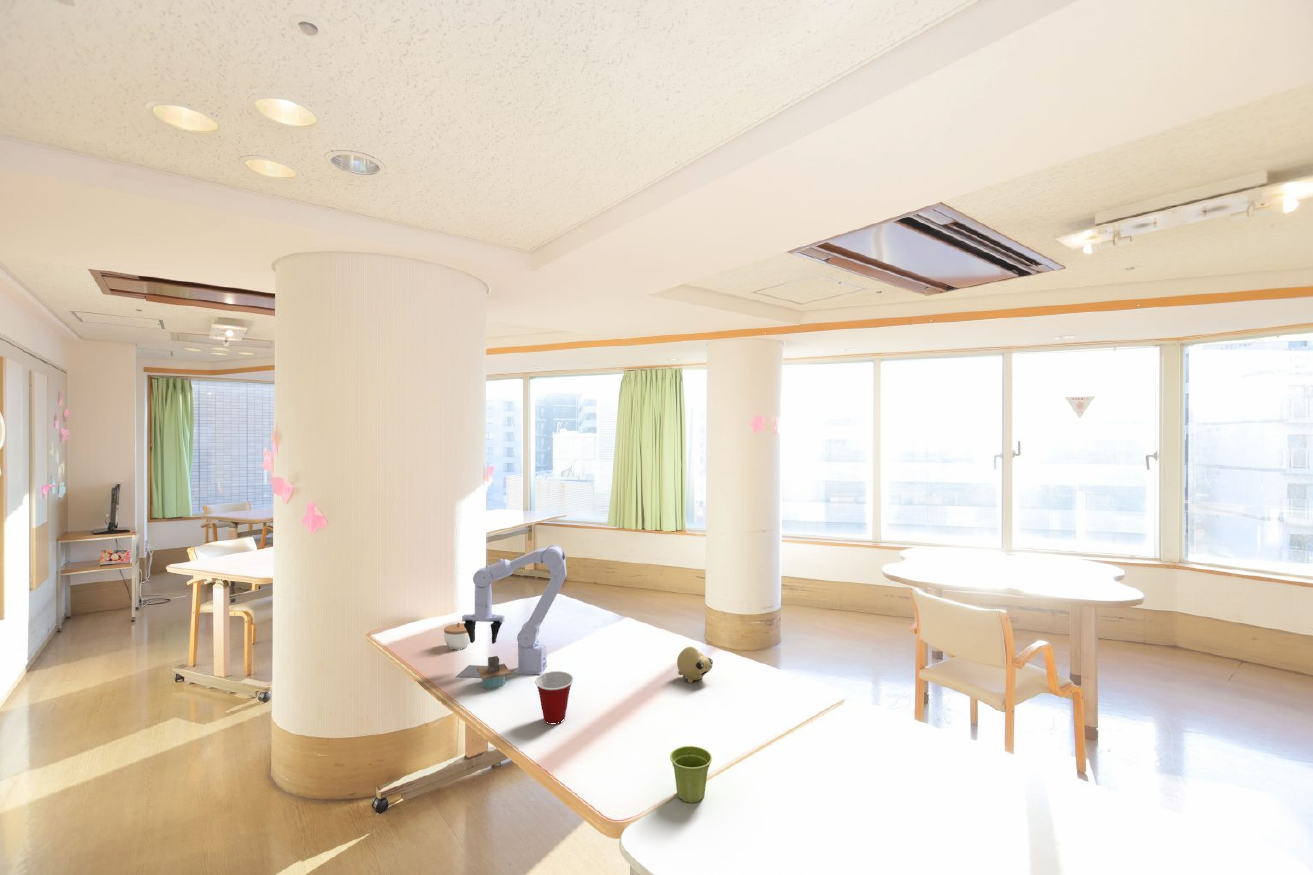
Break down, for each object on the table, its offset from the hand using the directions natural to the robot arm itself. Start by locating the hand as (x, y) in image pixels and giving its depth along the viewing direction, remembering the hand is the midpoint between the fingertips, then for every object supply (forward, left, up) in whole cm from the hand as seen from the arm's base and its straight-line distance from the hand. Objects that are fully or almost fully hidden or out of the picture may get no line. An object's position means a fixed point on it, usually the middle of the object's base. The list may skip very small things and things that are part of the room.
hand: (483, 642), depth 209 cm
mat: (+2, +1, -10) cm, 10 cm away
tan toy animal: (-73, 0, -10) cm, 74 cm away
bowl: (-8, +11, -10) cm, 17 cm away
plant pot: (-76, +65, -10) cm, 101 cm away
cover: (-8, +11, -6) cm, 15 cm away
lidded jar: (+20, -23, -10) cm, 32 cm away
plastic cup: (-35, +33, -10) cm, 50 cm away
